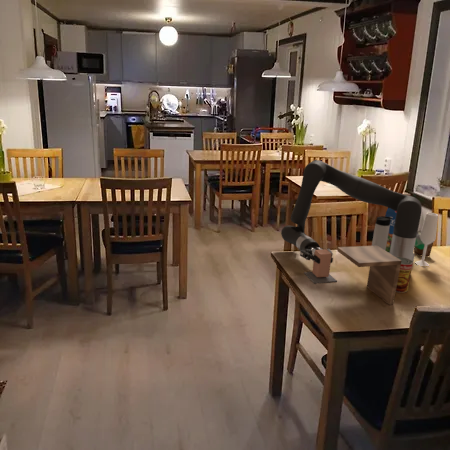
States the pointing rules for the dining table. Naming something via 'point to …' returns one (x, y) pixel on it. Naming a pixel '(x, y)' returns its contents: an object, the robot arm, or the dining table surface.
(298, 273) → the dining table surface
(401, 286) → the canned food
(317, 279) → the slate mat
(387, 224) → the travel mug
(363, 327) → the dining table surface
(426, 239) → the champagne flute
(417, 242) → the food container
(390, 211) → the blue food package
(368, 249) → the shelf nook
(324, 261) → the terracotta block
